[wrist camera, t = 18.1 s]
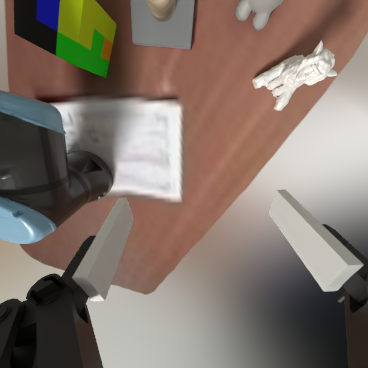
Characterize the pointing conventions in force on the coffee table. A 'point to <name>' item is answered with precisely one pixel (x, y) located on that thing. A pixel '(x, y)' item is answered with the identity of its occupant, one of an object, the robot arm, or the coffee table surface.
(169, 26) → the board
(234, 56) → the coffee table surface
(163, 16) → the birch tool handle
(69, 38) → the puzzle toy
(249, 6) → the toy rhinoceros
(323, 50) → the sitting furry creature
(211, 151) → the coffee table surface
